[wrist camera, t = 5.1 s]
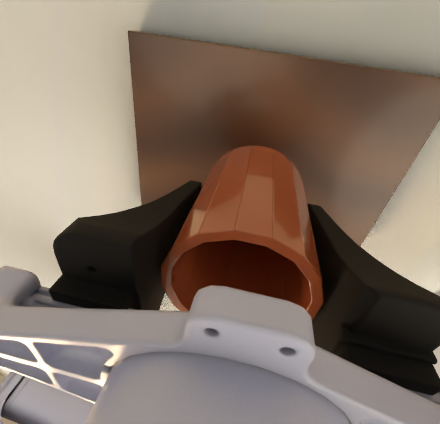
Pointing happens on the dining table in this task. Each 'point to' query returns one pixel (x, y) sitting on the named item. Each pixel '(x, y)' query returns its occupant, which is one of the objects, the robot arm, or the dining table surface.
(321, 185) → the serving board
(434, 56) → the dining table surface
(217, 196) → the tumbler
